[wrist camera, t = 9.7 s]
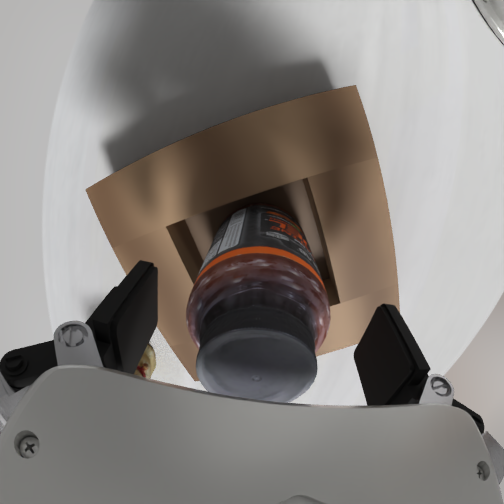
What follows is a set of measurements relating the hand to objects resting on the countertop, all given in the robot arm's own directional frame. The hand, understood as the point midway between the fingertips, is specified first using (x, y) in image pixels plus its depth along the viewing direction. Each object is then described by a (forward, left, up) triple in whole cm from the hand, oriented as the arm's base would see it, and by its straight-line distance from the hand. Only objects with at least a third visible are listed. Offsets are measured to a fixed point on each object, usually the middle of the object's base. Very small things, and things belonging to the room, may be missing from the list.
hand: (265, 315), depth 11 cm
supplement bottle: (0, 0, -8) cm, 8 cm away
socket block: (0, 0, -9) cm, 9 cm away
